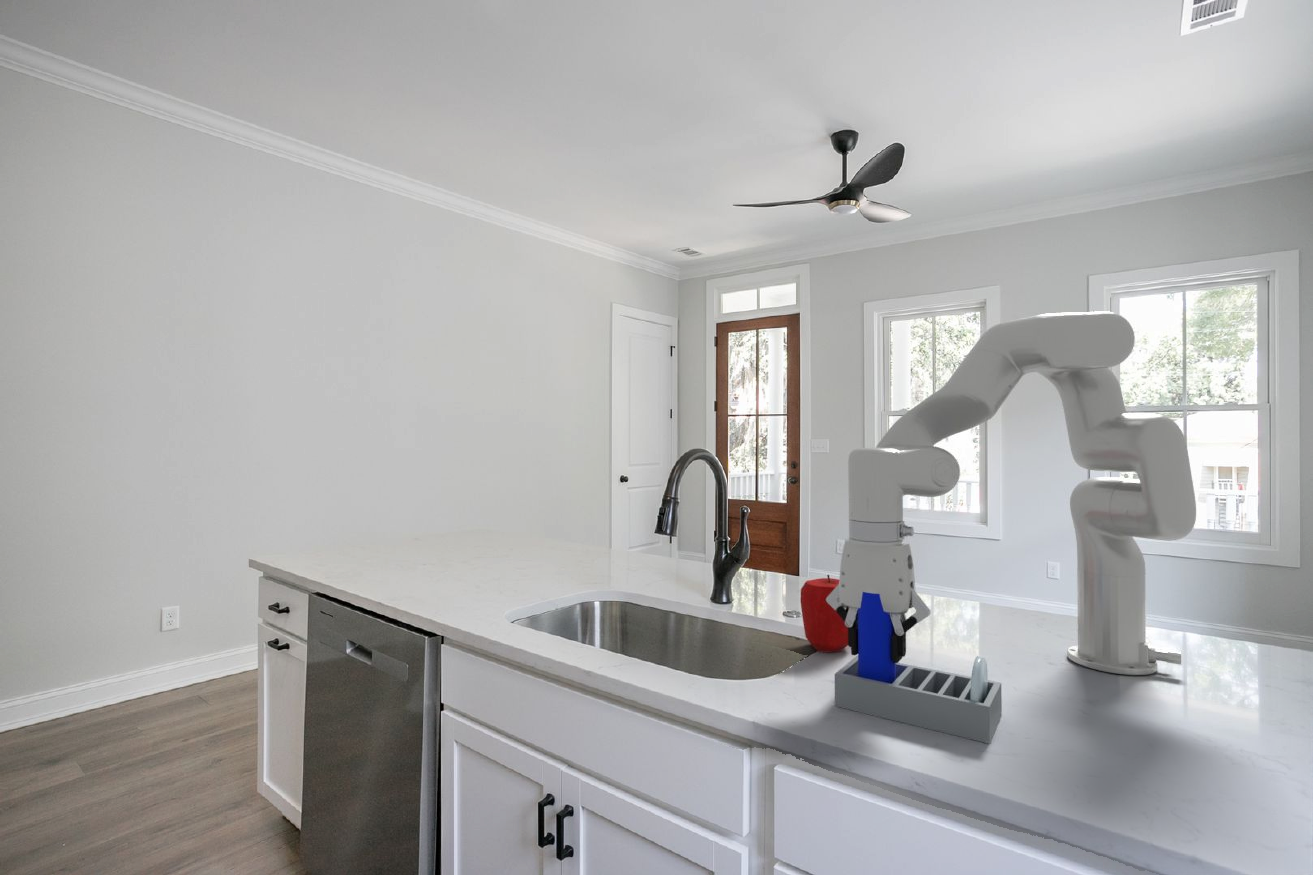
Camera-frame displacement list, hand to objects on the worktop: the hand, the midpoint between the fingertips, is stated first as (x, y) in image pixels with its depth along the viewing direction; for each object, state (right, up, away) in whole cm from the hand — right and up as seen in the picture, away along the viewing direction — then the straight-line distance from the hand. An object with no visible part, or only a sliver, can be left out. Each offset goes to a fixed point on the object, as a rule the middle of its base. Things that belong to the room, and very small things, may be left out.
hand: (876, 655), depth 95 cm
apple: (0, -7, +24) cm, 25 cm away
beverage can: (0, -5, 0) cm, 5 cm away
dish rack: (+4, -7, -3) cm, 9 cm away
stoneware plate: (+11, -6, -8) cm, 15 cm away
